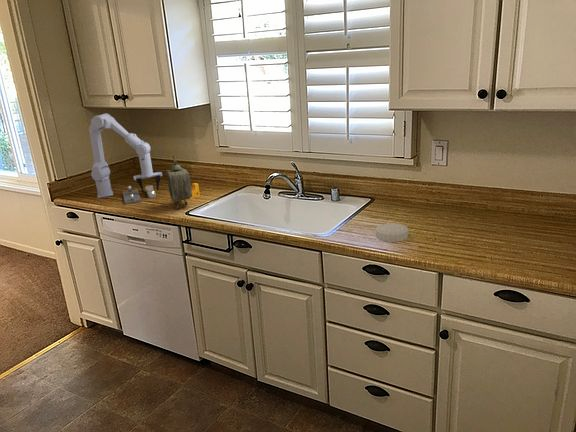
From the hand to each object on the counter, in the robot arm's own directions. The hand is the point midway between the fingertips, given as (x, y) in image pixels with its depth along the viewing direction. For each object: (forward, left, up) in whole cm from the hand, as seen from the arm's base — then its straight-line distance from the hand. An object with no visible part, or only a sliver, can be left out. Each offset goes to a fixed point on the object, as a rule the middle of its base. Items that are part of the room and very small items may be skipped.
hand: (150, 190), depth 253 cm
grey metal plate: (0, -10, -2) cm, 10 cm away
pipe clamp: (+19, +17, -2) cm, 26 cm away
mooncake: (+114, +77, -2) cm, 138 cm away
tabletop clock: (+30, +12, -2) cm, 32 cm away
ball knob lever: (0, 0, -2) cm, 2 cm away
